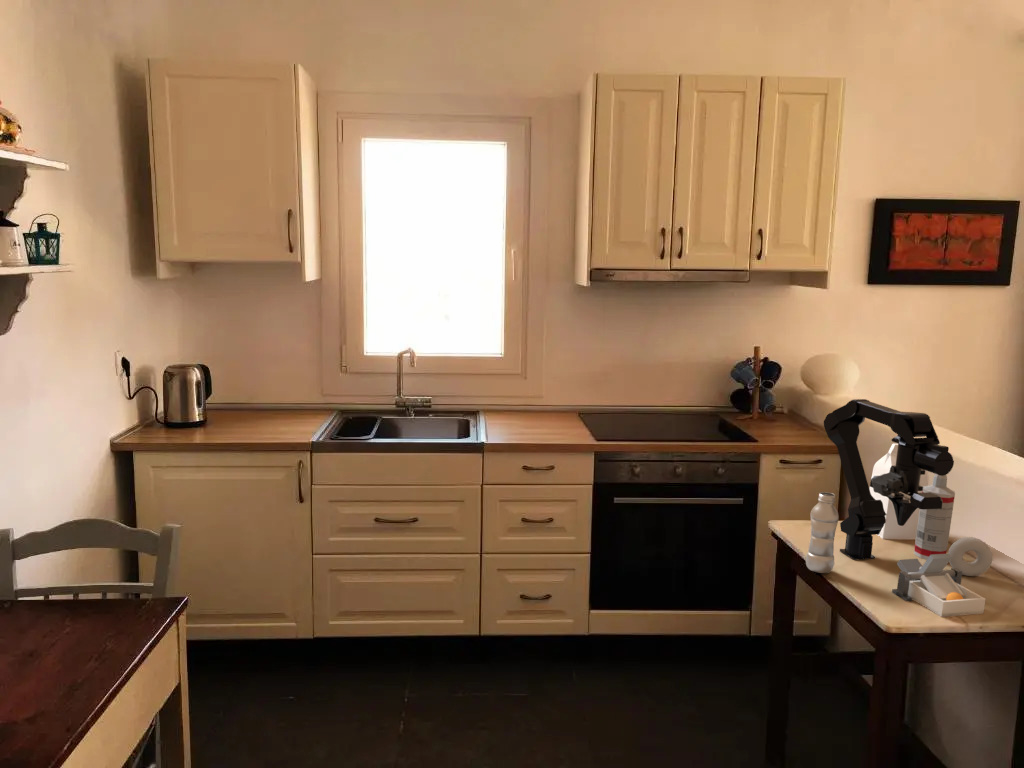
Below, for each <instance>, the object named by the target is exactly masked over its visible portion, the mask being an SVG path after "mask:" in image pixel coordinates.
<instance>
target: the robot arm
mask: <svg viewBox="0 0 1024 768" xmlns="http://www.w3.org/2000/svg"><path fill="white" fill-rule="evenodd" d="M866 419H867V420H871V421H873V422H876V423H879V424H882V425H885V426H887V427H889V428H890V430H891V431H892V432H893V433H895V434H896V436H894V437H893V438H891V442H892V443H894V444H898V450H897V458H896V465H895V466H891V468H890V472H889V473H887V474H883V475H880V476H874V477H873V478H872V477H871V478H872V479H871V478H870V483H869V482H868V479H867V475H866V472H865V468H864V464H863V461H862V458H861V454H860V450H859V447H858V443H857V442H858V439H859V435H860V433H861V432H860V425H861V424H863V423H864V422H865V420H866ZM823 427H824V431H825V432H826V435H827V437H828V439H829V440H830V441H831V442H832V443H833V444H834V445H835V447H836V448H837V450H838V455H839V459H840V462H841V466H842V470H843V474H844V477H845V480H846V481H845V482H846V485H847V487H848V488H847V489H848V492H849V495H850V501H849V505H848V508H847V514H848V516H847V517H846V518H845V519H843V520H842V521H841V522H840V523H839V524H840V526H839V527H840V532H842V533H845V534H846V538H845V547H844V548H840V549H839V552H841V553H842V554H844V555H846V556H847V557H848V558H850V559H852V560H854V561H859V560H875V559H876V556H875V555H873V554H872V552H873V551H872V550H873V537H874V535H876V534H877V535H876V536H878V535H879V534H880V532H881V529H882V528H883V526H884V523H886V519H885V515H886V513H885V511H884V508H883V503H882V501H881V500H875V499H874V498H873V496H872V495H871V493H870V489H869V488H870V487H873V489H874V492H875V493H879V494H881V495H882V496H886V497H888V498H889V499H890V500H891V501H892V503H893V506H894V510H895V514H896V518H897V523H898V525H900V526H904V524H905V523H906V522H907V520H908V519H909V518H910V516H911V515H912V514H913V512H914V511H915V510H916V509H917V508H919V509H923V510H924V509H942V503H943V500H942V499H941V497H939V496H937V495H935V494H932V493H930V492H929V493H918V491H923V487H922V486H920V485H919V484H920V476H921V475H925V470H926V471H927V472H928V473H932V474H934V475H935V474H937V475H940V476H944V475H946V476H947V475H948V474H949V473H950V472H951V471H952V470H953V467H954V464H955V460H954V457H953V455H952V453H950V452H949V446H947V445H940V443H941V441H940V440H939V437H938V434H937V432H936V430H935V428H934V425H933V423H932V420H931V416H930V415H929V414H927V413H924V412H916V411H915V412H912V411H901V410H897V409H894V408H890V407H887V406H885V405H881V404H878V403H875V402H872V401H871V400H869V399H867V398H865V399H864V398H863V399H860V398H859V399H857V398H856V399H851V400H850V401H848V402H847V403H846V404H844V405H842V406H840V407H839V408H836V409H835V410H833V411H831V412H829V413H828V414H827V415H826V416H825V418H824V420H823ZM909 493H910V494H909Z"/></svg>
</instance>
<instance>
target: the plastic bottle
mask: <svg viewBox="0 0 1024 768" xmlns="http://www.w3.org/2000/svg"><path fill="white" fill-rule="evenodd" d="M817 501H818V503H817V504H816V505H814V506H813V507H812V508H811V509H810V510H811V511H810V538H809V544H808V551H807V552H806V556H805V565H806V567H807V569H808V570H809V571H812V572H815V573H818V574H829V573H831V572H832V571H833V569H834V566H835V555H834V551H835V550H834V548H835V546H834V543H835V542H834V541H835V536H836V535H835V534H836V530H837V527H838V523H839V519H840V518H839V517H840V516H839V512H838V510H837V508H836V507H835V505H834V504H835V503H836V494H834V493H833V492H828V491H827V492H826V491H822V492H821V491H820V492H819V493H818V498H817Z"/></svg>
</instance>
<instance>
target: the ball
mask: <svg viewBox="0 0 1024 768" xmlns="http://www.w3.org/2000/svg"><path fill="white" fill-rule="evenodd" d="M960 599H963V597H962V596H961V595H960V594H959V593H957V592H951V593H949V594H948V595H947V597H946V601H947V600H960Z"/></svg>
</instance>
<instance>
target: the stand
mask: <svg viewBox="0 0 1024 768" xmlns="http://www.w3.org/2000/svg"><path fill="white" fill-rule="evenodd" d="M950 570H954V571H955V576H954V577H951V578H952V579H953V581H954V582H956V583H958V584H959V585H961V586H962V578H963V575H962V572H963V571H961V570H959V569H957V568H953V567H951V568H950ZM909 582H910V574H908V573H906V572H905V571H904V572H902V571H899V572H898V578H897V586H896V588H892V590H891V593H892V594H893V595H896V596H897V597H899V598H900V599H902V600H904V601H905V602H906V601H909V602H913V599H912V597H910V596H908V590H909Z"/></svg>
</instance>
